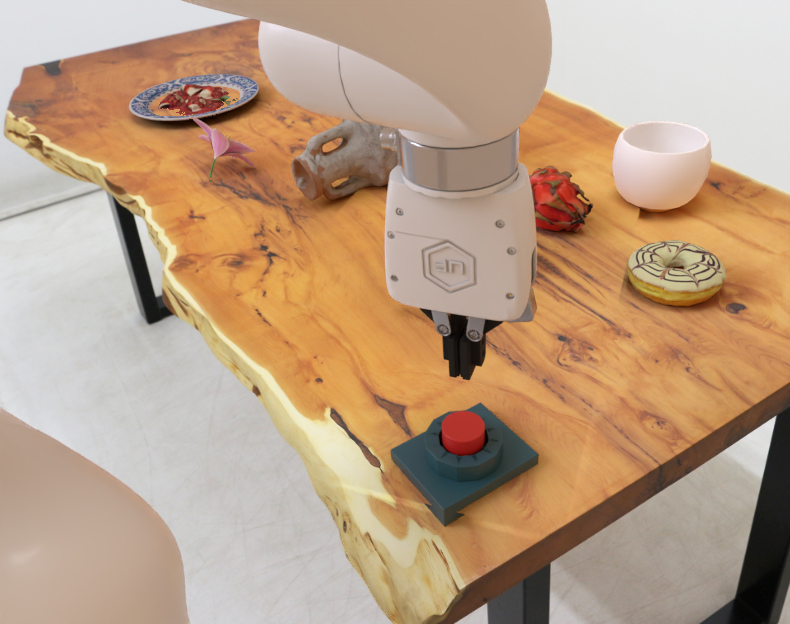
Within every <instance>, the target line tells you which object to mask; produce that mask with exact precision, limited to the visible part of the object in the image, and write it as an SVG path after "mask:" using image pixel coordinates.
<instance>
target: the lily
mask: <svg viewBox="0 0 790 624" xmlns="http://www.w3.org/2000/svg"><path fill="white" fill-rule="evenodd" d="M188 116H189V117H190V118H191V119H193V120H192V121H194V122H195V123H196V124H197V125H198V126H199V127H200V128H201V129H202V130H203V131H204V133H205V134H198V135H197V138H198V139H201V140H203V141H205V142H207V143H210V145H211V149H212V151H213V154H214V156H213V160H212V164H211V168H210V172H209V177H208V182H212V178H213V177H212V176H213V171H214V167H215V163H216V161H217V159H218V158H220V157H231V156H232V157H231V158H232V159H237V158H238V159H239V160H242V161H244V162H245V163H247V164H249V165H250V166H251V167H253V168H255V169H256V168H257V167H256V166H255V164H254V163H253V162H252V161H250V159H249V158H247V157H246V156H245V154H249V153H250V154H251V153H256V150H255V149H254V148H252V147H250V146H249V145H247V144H245V143H243V142H241V141H239V140H236V139H232V137H231V136H228V135H227V134H226V135H225V134H224V133H223V132H222V131H220V130H219V129H217V128H215V127H213V128H211V127H210V126H209V125H208V124H207V123H205V121H204V122H203V121H202V120H200V119H197V118H195V117H192V116H190V115H188ZM227 137H228V138H227ZM233 157H235V158H233ZM209 178H211V180H209Z"/></svg>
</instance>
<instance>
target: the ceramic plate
mask: <svg viewBox="0 0 790 624" xmlns="http://www.w3.org/2000/svg"><path fill="white" fill-rule="evenodd" d="M214 86H221V87H228V88H232V89H235V90H237V91H239V93H240V98H239V100H238V98H236V99H237V100H238V101H237V102H235V103H234V104H231V105H230V102H231V101H226V100H227V99H229V98H230V97H231V96H228V94H229V93H228V92H227V91H224V90H223V89H222V88H221V87H214ZM177 90H180V91H177ZM259 90H260V86H259V83H258V82H257V81H256V80H254V79H252V78H250V77H246V76H243V75H239V74H230V73H229V74H227V73H211V74H200V75H192V76H185V77H181V78H176V79H172V80H168V81H165V82H162V83H159V84H156V85H153V86H151V87H148V88H146V89H144V90H142V91H141V92H139V93H138V94H137V95H135V96H134V97H133V98H132V99H131V100H130V102H129V105H128V109H129V111H130V112H131V113H132V114H133V115H134V116H136V117H139V118H141V119H145V120H150V121H161V122H175V121H190V120H189V119H191V118H190V117H189V116H188V115H190V116H192V117H195V118H200V119H201V120H202V119H204V118H203V117H206V118H210V117H215V116H217V115H220V114H223V113H226V112H229V111H232V110H234V109H237V108H239V107H242V106H243V105H245V104H247V103H249V102H250V101H251V100H253V99H254V98H255V97H256V96H257V95H258V93H259ZM170 92H173V93H170ZM167 93H170V94H168V95H167V96H166V97H165V98H164V99H163V100H162V101H161V102H160V104H159V106H158V109H162V108H163V109H167V108H168V109H169V110H174V109H180V111H179V112H176V113H179V114H180V115H181V114H183V113H184V112H185V114H183V116H160V115H156V114H154V113H153V112H152V111H151V109H150V106H151V104H152V103H153V102H154V101H155V100H156V99H158V98H159V97H161V96H163V95H166V94H167ZM222 101H223V102H225V103H226V104H227V105H228V106H227V107H224V108H221V109H218V108H220V107H221V106H223V105H224V103H223V102H222ZM232 101H236V100H235V99H233V100H232ZM216 109H218V110H216ZM182 112H183V113H182ZM192 114H193V115H192ZM216 114H217V115H216ZM184 115H186V116H184ZM212 115H213V116H212ZM207 116H209V117H207ZM200 119H199V120H200Z"/></svg>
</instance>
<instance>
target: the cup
mask: <svg viewBox="0 0 790 624" xmlns="http://www.w3.org/2000/svg"><path fill="white" fill-rule="evenodd" d="M612 153H613V154H612V163H611V168H612V170H611V171H612V175H613V181H614V186H615V189H616V190H617V192H618V193H619V195H620V196H621V197H622V198H623V199H624V201H626V202H627V203H630V204H631V205H633V206H636V207H639V210H642V211H645V212H649V213H664V212H669V211H670V210H672V209H678V208H680V207H682V206H685V205H686V204H688V203H689V202H690V201H691V200H693V199H694V198H695V197H696V196H697V194H698V193H699V191H700V190H701V188H702V186H703V185H704V183H705V181H706V179H707V178H708V176H709V174H710V173H709V172H710V168H711V163H712V158H713V154H712V145H711V140H710V136H709V135H708V133H706V132H705V131H703V130H702V129H701V128H700V127H696V126H694V125H690V124H688V123H684V122H677V121H671V120H649V121H648V120H647V121H643V122H642V121H641V122H637V123H634V124H631V125H628V126H626V127H625V128H624V129H623V130H622V131H621V132H620V133H619V134H618V137H617V140H616V142H615V144H614V146H613V152H612Z"/></svg>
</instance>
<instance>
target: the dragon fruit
mask: <svg viewBox="0 0 790 624" xmlns="http://www.w3.org/2000/svg"><path fill="white" fill-rule="evenodd" d="M572 177H573V175H572V173H571V172H570V171H567V170H566V171H565V170H564V171H561V172H560V171H559V169H558V167H555V166H553V165H548V166H546V167H545V166H544V167H543V168H541V167H537V168H536V169H535V170H534V171H533V172H532V174H531V175H529V178H530V183H531V189H532V195H533V202H534V211H535V222H536V227H538V228H539V229H540V230H548V231H554V232H555V231H556V232H560V231H561V230H565V231H567V232H572V231H573V232H574V233H578V231H579V230H580V229H581V228H582V227H583V226H585V225H586V222H585V219H586V218H588V215H589V214H590V213H591V212H592V209H594V204H593V203H591V200H590V199H589V198H588V197H586V196H585V191H584V190H583V189H581V188H580V185H579V184H577V183H575V182H574V181H573V182H572V181H571V178H572ZM578 196H580V197H581V198H582V199H583V200H585V201H586V202H588V203H586V202H584V201H583V200H582V199H581V198H579V197H578Z"/></svg>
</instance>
